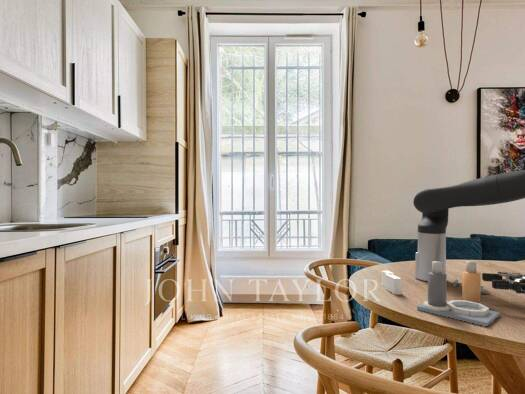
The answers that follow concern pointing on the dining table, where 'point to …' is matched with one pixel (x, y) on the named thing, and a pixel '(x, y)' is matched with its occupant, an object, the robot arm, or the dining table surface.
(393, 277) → the white stepped block
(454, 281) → the clamp
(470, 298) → the orange lotion bottle
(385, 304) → the dining table surface
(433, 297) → the bottle holder tray
